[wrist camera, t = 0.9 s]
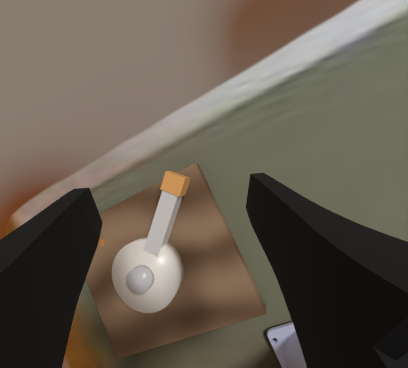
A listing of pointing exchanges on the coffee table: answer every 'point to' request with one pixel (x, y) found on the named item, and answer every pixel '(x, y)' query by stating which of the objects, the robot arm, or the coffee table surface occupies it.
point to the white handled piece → (153, 255)
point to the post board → (193, 271)
